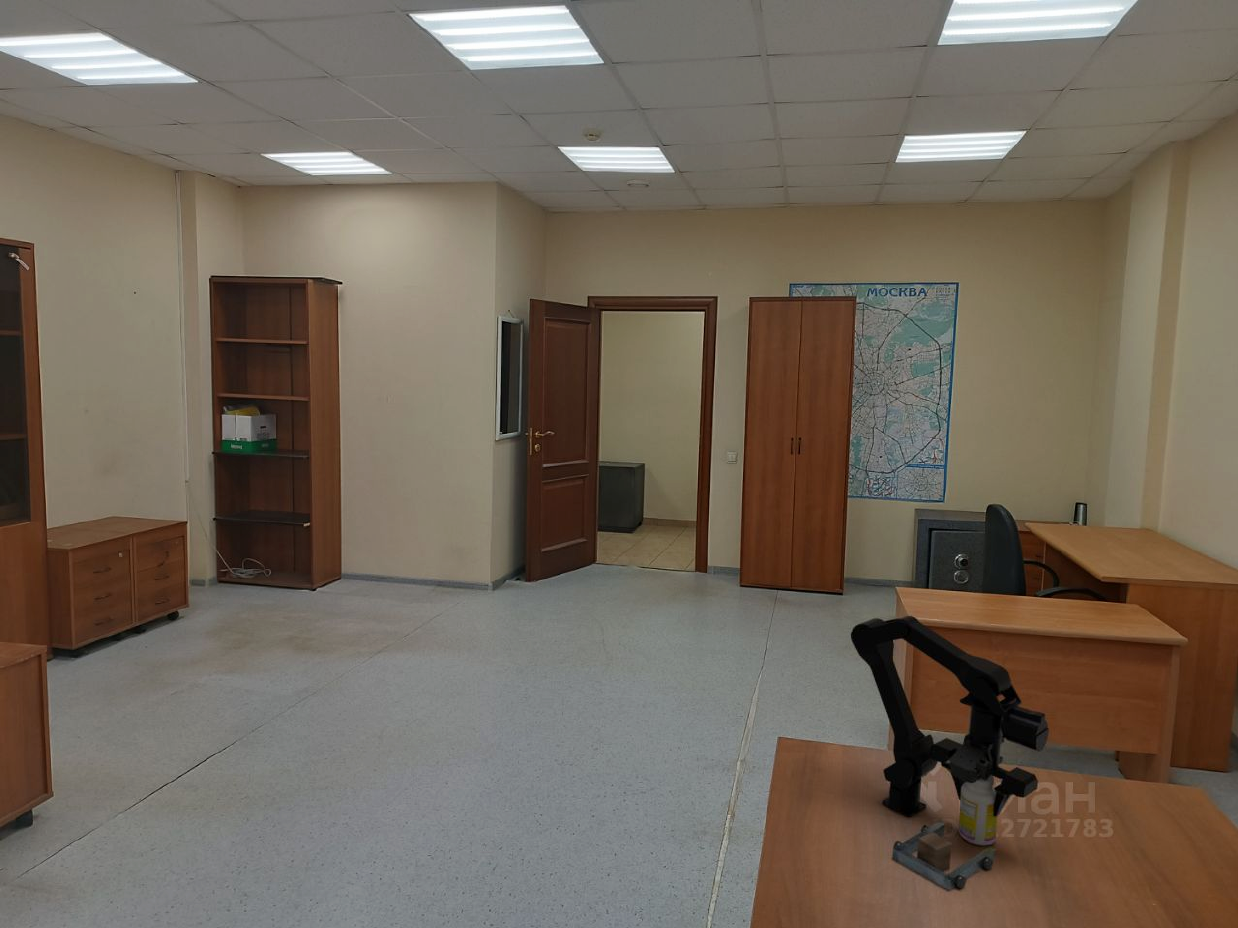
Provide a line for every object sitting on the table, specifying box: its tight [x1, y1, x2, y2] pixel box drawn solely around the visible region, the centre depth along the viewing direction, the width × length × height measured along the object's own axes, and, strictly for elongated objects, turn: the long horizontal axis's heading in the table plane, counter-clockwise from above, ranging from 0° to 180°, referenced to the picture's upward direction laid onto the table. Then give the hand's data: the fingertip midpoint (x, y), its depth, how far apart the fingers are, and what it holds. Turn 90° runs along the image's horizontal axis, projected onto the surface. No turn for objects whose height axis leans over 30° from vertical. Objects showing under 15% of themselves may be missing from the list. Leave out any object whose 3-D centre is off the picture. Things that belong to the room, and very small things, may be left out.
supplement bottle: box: [958, 775, 998, 846], centre depth 160 cm, size 7×7×13 cm
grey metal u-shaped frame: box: [891, 821, 996, 892], centre depth 154 cm, size 15×13×2 cm
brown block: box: [916, 832, 952, 872], centre depth 151 cm, size 4×4×5 cm
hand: (978, 807), depth 160 cm, fingers closed on supplement bottle, 7 cm apart
